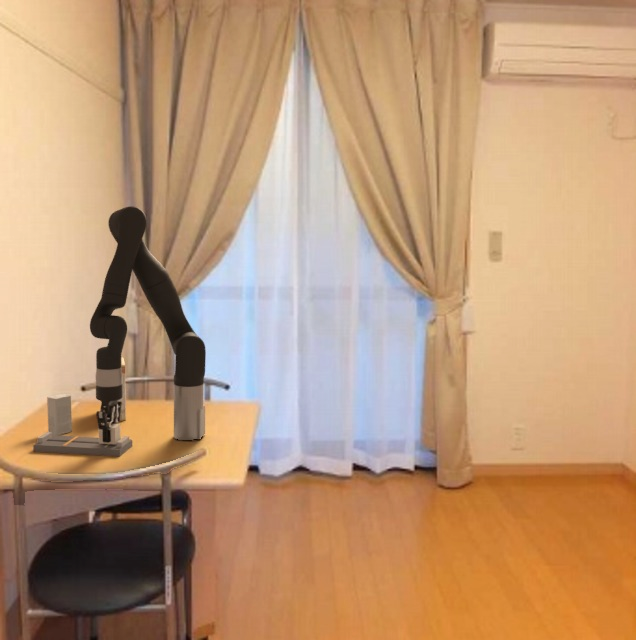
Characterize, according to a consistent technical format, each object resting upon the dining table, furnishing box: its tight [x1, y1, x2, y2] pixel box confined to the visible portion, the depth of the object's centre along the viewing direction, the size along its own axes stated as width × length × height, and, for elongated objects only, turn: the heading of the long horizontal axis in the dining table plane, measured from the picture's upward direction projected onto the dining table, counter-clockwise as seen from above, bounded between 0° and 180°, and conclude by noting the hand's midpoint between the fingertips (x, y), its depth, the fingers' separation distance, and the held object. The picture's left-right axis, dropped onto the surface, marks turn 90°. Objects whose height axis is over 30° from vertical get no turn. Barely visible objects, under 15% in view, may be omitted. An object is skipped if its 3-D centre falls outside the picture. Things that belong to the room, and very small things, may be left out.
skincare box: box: [46, 393, 73, 436], centre depth 224 cm, size 6×4×12 cm
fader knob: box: [98, 423, 122, 444], centre depth 208 cm, size 5×4×5 cm
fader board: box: [32, 431, 133, 457], centre depth 209 cm, size 26×10×4 cm, turn 85°
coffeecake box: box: [107, 356, 127, 422], centre depth 245 cm, size 15×7×20 cm, turn 18°
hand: (109, 439), depth 208 cm, fingers closed on fader knob, 4 cm apart
